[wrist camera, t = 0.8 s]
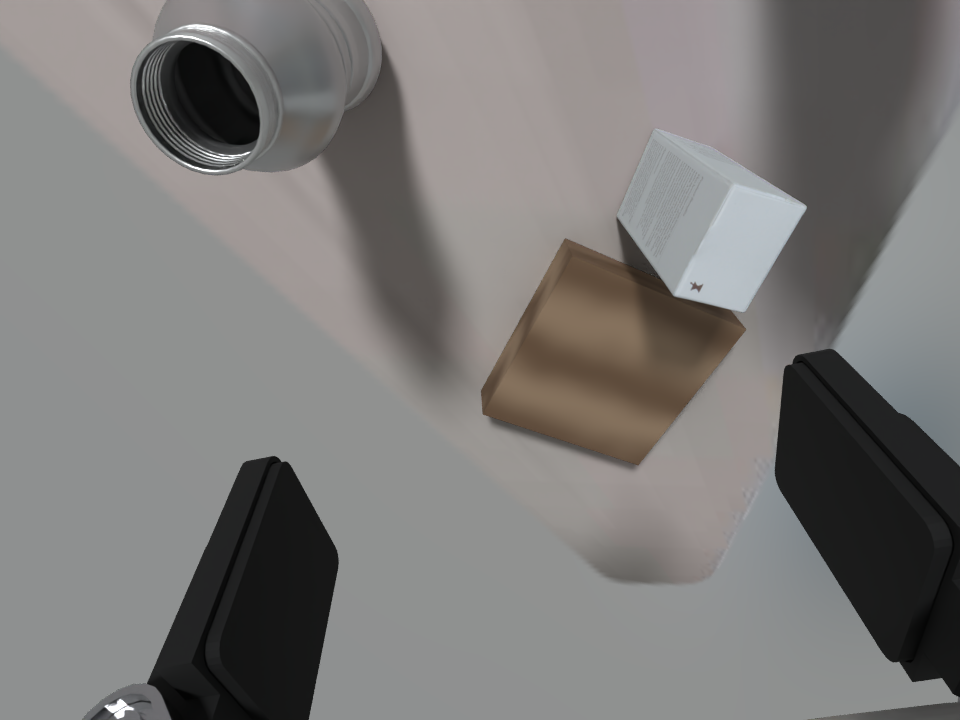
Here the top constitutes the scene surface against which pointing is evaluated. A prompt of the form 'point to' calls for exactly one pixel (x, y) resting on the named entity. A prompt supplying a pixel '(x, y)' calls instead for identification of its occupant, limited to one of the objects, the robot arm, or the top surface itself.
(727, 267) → the skincare box
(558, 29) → the top surface
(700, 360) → the walnut base
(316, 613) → the robot arm
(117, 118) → the top surface
